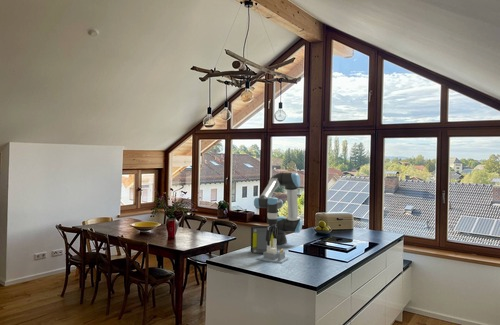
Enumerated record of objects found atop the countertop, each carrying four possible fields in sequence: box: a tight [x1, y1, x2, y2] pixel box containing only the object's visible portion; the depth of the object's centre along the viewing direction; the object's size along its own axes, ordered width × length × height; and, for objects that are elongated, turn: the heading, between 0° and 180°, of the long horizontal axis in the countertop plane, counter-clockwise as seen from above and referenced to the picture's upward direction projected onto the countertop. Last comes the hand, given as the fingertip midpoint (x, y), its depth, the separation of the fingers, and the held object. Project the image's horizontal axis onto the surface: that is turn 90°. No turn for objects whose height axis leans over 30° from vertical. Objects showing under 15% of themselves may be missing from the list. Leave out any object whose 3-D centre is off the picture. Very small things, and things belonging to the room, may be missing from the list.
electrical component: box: [250, 225, 275, 254], centre depth 294 cm, size 18×10×20 cm, turn 101°
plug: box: [267, 247, 278, 254], centre depth 273 cm, size 4×6×7 cm
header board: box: [256, 248, 289, 264], centre depth 272 cm, size 12×20×9 cm, turn 61°
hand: (271, 248), depth 273 cm, fingers open, 9 cm apart
